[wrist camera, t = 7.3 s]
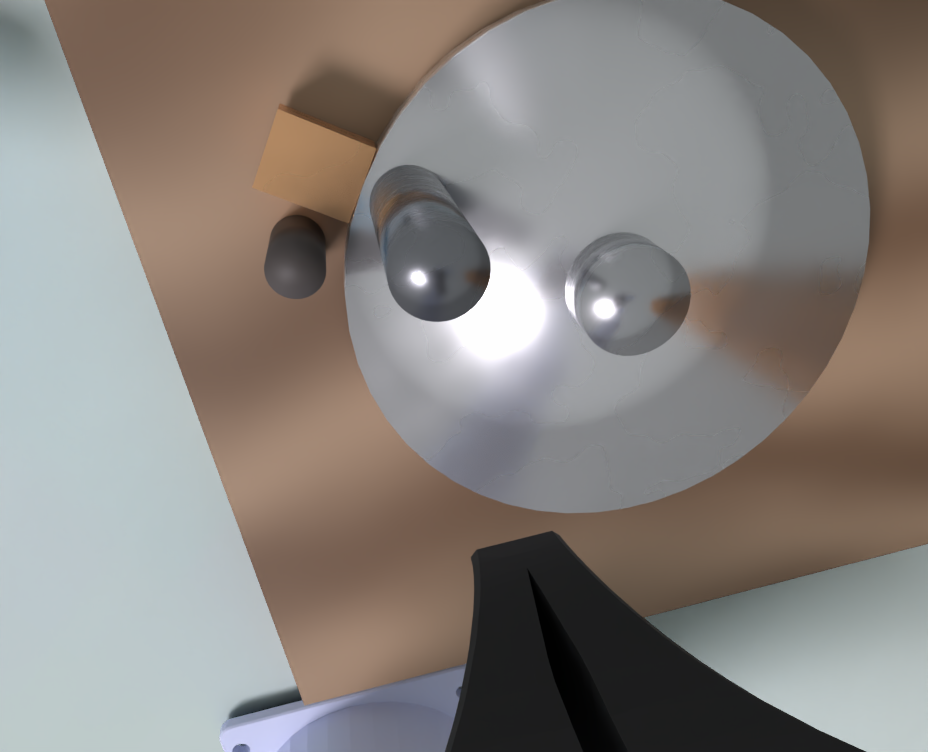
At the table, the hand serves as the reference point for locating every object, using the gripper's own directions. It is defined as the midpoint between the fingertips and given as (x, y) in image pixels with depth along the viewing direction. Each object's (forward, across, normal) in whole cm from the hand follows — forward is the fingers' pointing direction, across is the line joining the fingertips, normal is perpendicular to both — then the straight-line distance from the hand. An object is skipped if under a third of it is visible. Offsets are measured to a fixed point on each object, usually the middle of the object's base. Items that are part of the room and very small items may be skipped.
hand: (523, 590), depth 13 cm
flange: (+8, -3, -3) cm, 9 cm away
